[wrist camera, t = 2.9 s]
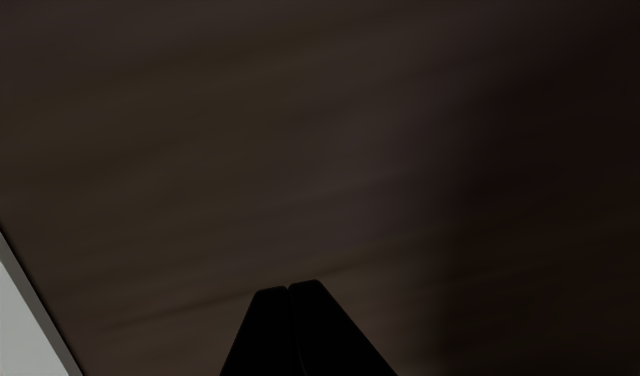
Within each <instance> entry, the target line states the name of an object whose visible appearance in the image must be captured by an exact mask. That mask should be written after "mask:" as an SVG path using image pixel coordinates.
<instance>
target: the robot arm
mask: <svg viewBox="0 0 640 376" xmlns="http://www.w3.org/2000/svg"><path fill="white" fill-rule="evenodd" d="M219 376H398V375H397V374H396V373H395V372H394V371H393V369H392V368H391V367H390V366H389V364H388V363H387V362H386V361H385V360H384V358H383V357H382V356H381V355H380V354H379V352H378V351H377V350H376V349H375V347H374V346H373V345H372V344H371V343H370V341H369V340H368V339H367V338H366V337H365V335H364V334H363V333H362V332H361V330H360V329H359V328H358V327H357V326H356V324H355V323H354V322H353V321H352V320H351V318H350V317H349V316H348V315H347V314H346V312H345V311H344V310H343V309H342V307H341V306H340V305H339V304H338V303H337V301H336V300H335V299H334V298H333V297H332V295H331V294H330V293H329V292H328V290H327V289H326V288H325V287H324V286H323V284H322V283H321V282H320V281H318V280H316V279H313V280H308V281H303V282H298V283H293V284H291V285H290V286H289V288H288V289H287V288H286V287H285V286H277V287H272V288H267V289H262V290H259V291H257V292H256V293H255V295H254V297H253V299H252V301H251V303H250V306H249V308H248V310H247V313H246V315H245V317H244V320H243V322H242V324H241V326H240V329H239V331H238V333H237V336H236V338H235V340H234V343H233V345H232V347H231V349H230V352H229V354H228V356H227V359H226V361H225V363H224V366H223V368H222V370H221V372H220V375H219Z"/></svg>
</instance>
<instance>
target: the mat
mask: <svg viewBox="0 0 640 376" xmlns="http://www.w3.org/2000/svg"><path fill="white" fill-rule="evenodd" d="M0 376H83V375H82V373H81V371H80V370H79V368H78V366H77V364H76V363H75V361H74V359H73V357H72V356H71V354H70V352H69V350H68V349H67V347H66V345H65V343H64V342H63V340H62V338H61V336H60V335H59V333H58V331H57V329H56V328H55V326H54V324H53V323H52V321H51V319H50V317H49V316H48V314H47V312H46V310H45V309H44V307H43V305H42V303H41V302H40V300H39V298H38V296H37V295H36V293H35V291H34V289H33V288H32V286H31V284H30V283H29V281H28V279H27V277H26V276H25V274H24V272H23V270H22V269H21V267H20V265H19V263H18V262H17V260H16V258H15V256H14V255H13V253H12V251H11V249H10V248H9V246H8V244H7V242H6V241H5V239H4V237H3V236H2V234H1V232H0Z"/></svg>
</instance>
